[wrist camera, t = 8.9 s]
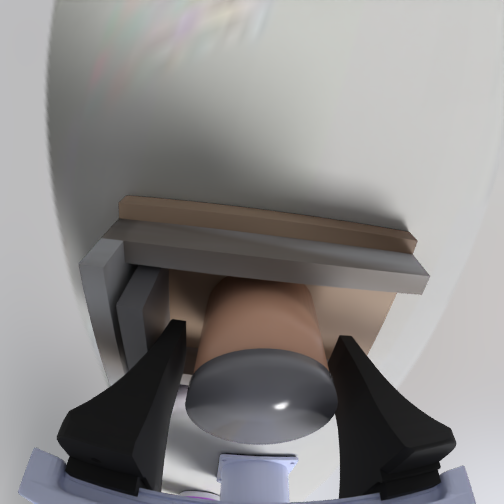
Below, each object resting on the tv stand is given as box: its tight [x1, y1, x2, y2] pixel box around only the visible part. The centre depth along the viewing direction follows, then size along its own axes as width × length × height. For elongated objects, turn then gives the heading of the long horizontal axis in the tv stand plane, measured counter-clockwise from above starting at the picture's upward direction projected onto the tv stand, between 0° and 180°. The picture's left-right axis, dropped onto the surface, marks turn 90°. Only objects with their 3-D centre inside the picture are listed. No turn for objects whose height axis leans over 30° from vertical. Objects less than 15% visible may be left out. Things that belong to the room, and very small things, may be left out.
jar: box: [185, 276, 338, 445], centre depth 13 cm, size 6×6×6 cm
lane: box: [79, 196, 430, 386], centre depth 14 cm, size 10×14×5 cm
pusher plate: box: [116, 265, 170, 370], centre depth 13 cm, size 6×1×4 cm, turn 173°
